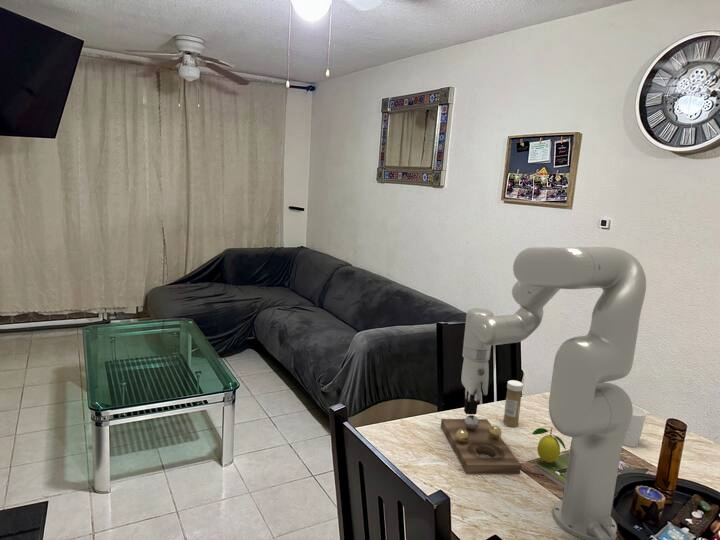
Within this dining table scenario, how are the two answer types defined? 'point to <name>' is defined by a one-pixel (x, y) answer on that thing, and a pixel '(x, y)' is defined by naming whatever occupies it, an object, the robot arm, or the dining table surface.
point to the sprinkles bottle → (512, 403)
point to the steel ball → (471, 422)
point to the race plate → (480, 449)
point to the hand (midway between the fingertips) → (470, 412)
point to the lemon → (548, 446)
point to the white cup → (635, 427)
